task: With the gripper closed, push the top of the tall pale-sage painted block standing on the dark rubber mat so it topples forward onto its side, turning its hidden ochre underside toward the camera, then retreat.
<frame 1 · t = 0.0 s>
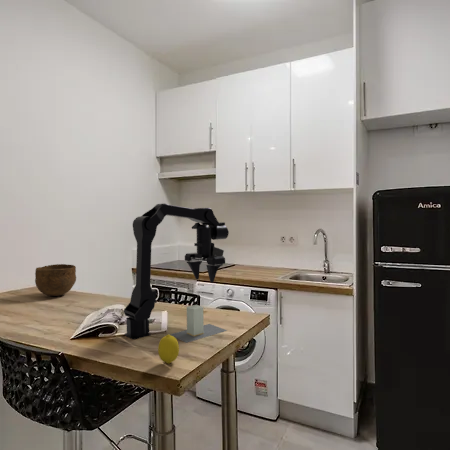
hand: (204, 280, 133), 15 cm above the table, fingers open, 9 cm apart
block: (195, 333, 116), resting on mat
bowl: (56, 296, 175), on the table
mat: (198, 333, 117), on the table
lemon: (168, 364, 93), on the table
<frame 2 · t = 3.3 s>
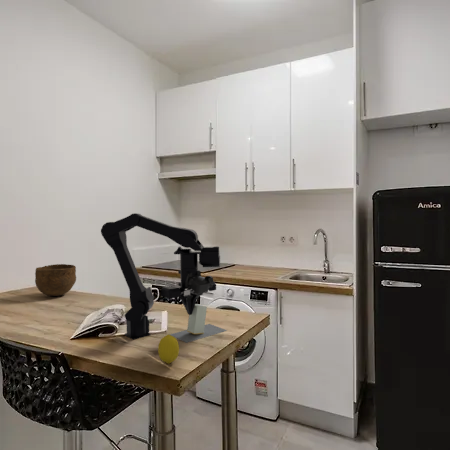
hand: (189, 314, 114), 7 cm above the table, fingers closed
block: (195, 332, 116), point 1 cm above the table, tilted 10°, touching gripper, mat
everything else where it was.
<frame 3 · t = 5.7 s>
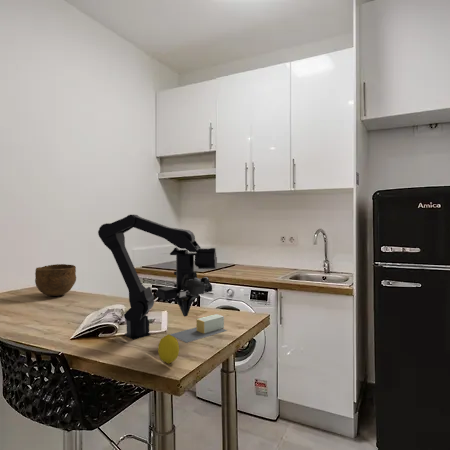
hand: (185, 316, 113), 7 cm above the table, fingers closed
block: (200, 326, 117), point 2 cm above the table, tilted 90°, touching mat
everything else where it was.
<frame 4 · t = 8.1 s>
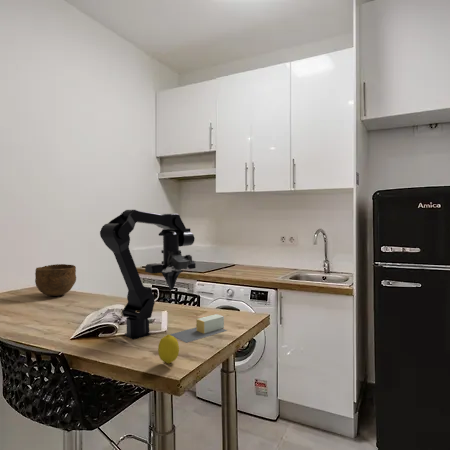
hand: (171, 289, 128), 12 cm above the table, fingers closed
nothing on the table moved.
at the end: block tilted 90°; block inside the target area (4.0 cm from its centre), point 2.3 cm above the table; block moved 2.8 cm from its start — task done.
